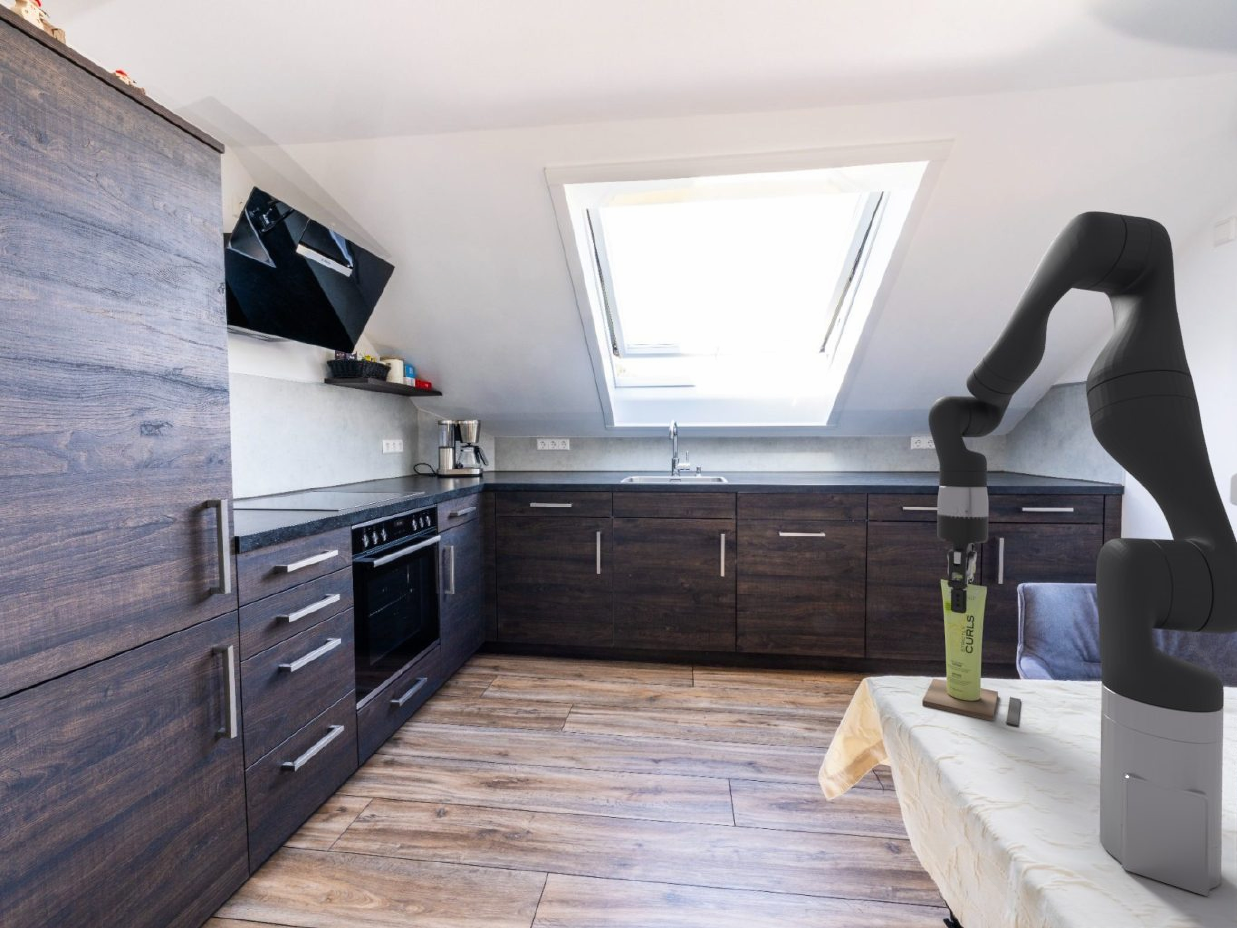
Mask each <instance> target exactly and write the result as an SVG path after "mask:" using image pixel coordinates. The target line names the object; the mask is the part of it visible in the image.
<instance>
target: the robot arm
mask: <svg viewBox="0 0 1237 928" xmlns="http://www.w3.org/2000/svg"><path fill="white" fill-rule="evenodd" d="M1049 244H1050V245H1049V246H1048V247H1047V249H1046V251H1045V253H1044V254H1043V256H1042V257H1041V260H1040V261H1039V263H1038V265H1037V266H1036V268H1035V270H1034V271H1033V272H1034V273H1033V274H1032V276H1031V277H1030V279H1029V281H1028V283H1027V285H1026V286H1025V289H1024V290H1023V292H1022V294H1021V296H1020V298H1019V299H1018V302H1017V303H1016V305H1015V307H1014V309H1013V311H1012V312H1011V313H1010V316H1009V318H1008V320H1007V322H1006V323H1005V325H1004V327H1003V329H1002V330H1001V331H1000V333H999V335H998V336H997V338H995V340H994V342H993V343H992V344H991V346H990V347H989V348H988V350H987V351H986V352H985V353H984V354H983V356H982V357H981V358H980V360H979V361H978V362H977V364H976V365H975V366H974V368H973V369H972V370H971V371H970V373H969V374H968V376H967V378H966V388H967V390H968V391H969V393H970V394H971V395H972V396H971V395H970V396H969V395H968V396H963V395H962V396H961V395H960V396H959V395H949V396H948V395H947V396H942V397H939V398H938V399H936V401H935V402H934V403H933V404H932V405H931V408H930V409H929V413H928V427H929V432H930V435H931V438H932V441H933V445H934V449H935V452H936V456H937V459H938V463H939V475H938V477H939V481H938V482H939V483H938V484H939V487H938V488H939V489H938V494H937V507H936V508H937V510H936V511H937V512H936V513H937V519H936V521H937V522H936V523H937V524H936V525H937V526H936V527H937V528H936V529H937V530H936V531H937V533H936V536H937V538H938V539H939V540H941V541H945V542H951V543H952V549H949V550H948V551H947V557H946V558H947V561H948V563H947V564H948V565H947V574H948V576H947V577H948V579H947V581H948V587H950V589H951V611H952V612H956V613H966V611H967V589H968V584H971V585H973V581H974V579H975V574H976V567H977V564H976V562H977V558H978V557H977V556H978V555H977V551H975V548H976V545H975V544H982V543H983V544H984V543H986V542H988V540H989V503H990V502H989V494H988V488H987V486H988V461H987V457H986V455H985V454H983V453H981V452H978V451H974V450H970V449H968V447H967V446H966V443H965V442H964V438H982V437H985V436H987V435H990V434H991V433H993V432H994V431H996V429H997V428H998V427H999V426H1000V424H1001V422H1002V420H1003V419H1004V416H1005V414H1006V411H1007V410H1008V407H1009V405H1010V403H1011V401H1012V398H1013V395H1014V394H1015V393H1017V392H1018V391H1019V389H1020V388H1021V387H1022V386H1023V385H1024V383H1025V382H1027V381H1028V380H1029V378H1030V377H1031V376H1032V375H1033V374H1034V372H1035V371H1036V370H1037V369H1038V367H1039V366H1040V364H1041V362H1042V360H1043V357H1044V354H1045V352H1046V351H1045V350H1046V345H1047V330H1048V329H1047V327H1048V322H1049V318H1050V314H1051V312H1052V311H1053V309H1054V307H1055V306H1056V305H1057V304H1058V302H1059V301H1061V299H1062V298H1063V297H1064V296H1065V295H1066V294H1067V293H1069V291H1070V290H1072V289H1076V290H1081V291H1082V290H1083V291H1088V292H1089V291H1090V292H1096V293H1103V294H1105V296H1106V297H1107V298H1108V299H1109V302H1110V304H1111V305H1110V306H1111V310H1112V315H1113V331H1112V334H1111V336H1110V337H1109V339H1108V342H1107V343H1106V344H1105V346H1104V347H1103V349H1102V350H1101V351H1100V353H1099V355H1098V356H1097V358H1096V359H1095V361H1094V363H1093V364H1092V366H1091V368H1090V369H1089V372H1088V374H1087V377H1086V382H1085V383H1086V384H1085V392H1086V393H1085V394H1086V401H1087V406H1088V411H1089V412H1088V413H1089V414H1088V415H1089V420H1090V424H1091V430H1092V433H1093V435H1094V437H1095V438H1096V440H1097V442H1098V443H1099V445H1101V447H1102V448H1103V449H1104V451H1105V452H1106V453H1107V454H1108V455H1109V456H1110V457H1111V458H1112V459H1113V460H1114V461H1115V462H1116V463H1117V464H1119V465H1120V466H1121V468H1123V469H1124V470H1125V471H1126V472H1127V473H1128V474H1130V475H1131V476H1132V478H1134V479H1135V480H1136V481H1137V482H1138V483H1139V484H1140V485H1141V486H1142V487H1143V488H1144V489H1145V490H1146V491H1147V493H1149V495H1150V496H1151V497H1152V498H1153V500H1154V501H1155V502H1156V504H1157V505H1158V507H1159V508H1160V509H1159V510H1160V511H1162V514H1163V516H1164V518H1165V520H1166V522H1167V525H1168V528H1169V530H1170V533H1171V537H1172V539H1165V538H1164V539H1163V538H1140V537H1139V538H1134V537H1118V538H1113V539H1110V540H1107V542H1104V544H1103V546H1102V547H1101V549H1100V551H1099V553H1098V555H1097V556H1098V557H1097V559H1096V560H1097V561H1096V568H1095V569H1096V572H1095V579H1096V580H1095V581H1096V583H1095V584H1096V585H1095V586H1096V601H1097V602H1096V603H1097V613H1098V614H1097V615H1098V618H1097V619H1098V647H1099V651H1098V652H1099V656H1100V666H1101V667H1100V668H1101V695H1100V697H1101V699H1100V700H1101V701H1100V703H1101V705H1100V706H1101V708H1100V709H1101V711H1100V768H1099V773H1100V775H1099V776H1100V778H1099V779H1100V781H1099V782H1100V783H1099V840H1100V843H1101V845H1102V846H1103V848H1104V849H1105V851H1107V853H1108V854H1110V855H1111V856H1112V857H1113V858H1115V860H1117V861H1118V862H1120V864H1121V868H1122V869H1123V870H1124V871H1127V872H1131V873H1133V874H1137V875H1140V876H1143V877H1146V878H1148V879H1153V880H1156V881H1158V882H1162V883H1165V884H1167V885H1171V886H1175V887H1177V888H1180V889H1183V890H1187V891H1190V892H1192V893H1197V894H1199V895H1202V896H1206V897H1208V896H1209V895H1210V890H1211V889H1215V888H1218V887H1219V885H1220V884H1221V882H1222V844H1223V843H1222V834H1223V833H1222V832H1223V831H1222V830H1223V829H1222V827H1223V823H1222V821H1223V760H1224V759H1223V755H1224V754H1223V752H1224V751H1223V749H1224V704H1225V703H1224V701H1225V696H1224V694H1225V693H1224V692H1225V691H1224V684H1223V681H1222V680H1221V679H1220V678H1219V676H1217V674H1215V673H1213V672H1212V671H1210V670H1209V669H1207V668H1205V667H1202V666H1201V665H1198V664H1196V663H1192V662H1190V661H1188V660H1184V659H1182V658H1179V657H1176V656H1173V655H1171V654H1169V653H1166V652H1165V651H1163V650H1161V649H1159V648H1158V647H1157V646H1156V645H1155V641H1154V640H1155V639H1154V634H1153V629H1156V630H1165V631H1166V630H1168V631H1178V632H1180V631H1181V632H1192V633H1203V634H1216V635H1217V634H1218V635H1228V634H1230V635H1231V634H1234V633H1237V538H1236V536H1235V533H1234V532H1235V531H1233V527H1232V525H1231V522H1230V519H1229V516H1228V514H1227V510H1226V508H1225V505H1224V502H1223V500H1222V497H1221V494H1220V492H1219V489H1218V485H1217V482H1216V478H1215V476H1214V472H1213V468H1212V465H1211V461H1210V455H1209V453H1208V452H1209V451H1208V448H1207V447H1208V446H1207V442H1206V438H1205V435H1204V429H1203V423H1202V417H1201V411H1200V410H1201V409H1200V406H1199V401H1198V398H1197V392H1196V389H1195V385H1194V384H1195V383H1194V381H1193V379H1194V378H1193V376H1192V374H1191V370H1190V366H1189V364H1188V360H1187V355H1186V351H1185V346H1184V340H1183V334H1182V330H1181V329H1182V327H1181V325H1180V318H1179V313H1178V307H1177V298H1176V283H1175V267H1174V254H1173V247H1172V246H1173V245H1172V241H1171V236H1170V234H1169V232H1168V230H1167V228H1166V227H1165V226H1164V225H1163V224H1161V222H1159V221H1157V220H1155V219H1152V218H1148V217H1142V216H1134V215H1129V214H1128V215H1127V214H1121V213H1114V212H1107V211H1099V210H1098V211H1096V210H1095V211H1094V210H1093V211H1091V210H1090V211H1085V212H1081V213H1079V214H1078V215H1076V216H1074V217H1073V218H1072V219H1070V220H1069V221H1068V222H1067V223H1066V224H1065V225H1064V226H1062V229H1060V231H1059V232H1058V233H1057V235H1056V236H1055V237H1054V239H1052V241H1051V243H1049ZM955 579H956V580H955Z"/></svg>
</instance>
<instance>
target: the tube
mask: <svg viewBox="0 0 1237 928" xmlns="http://www.w3.org/2000/svg"><path fill="white" fill-rule="evenodd" d="M940 586H941V595H942V605H943V606H942V607H943V608H942V609H943V620H944V624H943V625H944V636H945V638H944V639H945V641H944V643H945V664H946V666H945V667H946V668H945V669H946V671H945V672H946V681H947V693H948V694H949V695H951V696H953V697H955V698H958V699H962V700H968V701H975V700H978V699H980V688H982V687H981V681H982V680H981V679H982V678H981V676H982V674H981V673H982V649H983V648H982V647H983V646H982V645H983V630H984V618H985V617H984V616H985V607H986V598H987V592H988V587H987V586H985V585H976V584H972V585H971V584H968V589H967V611H966V613H956V612H952V611H951V589H950V587H948V579H946V580H945V579H940Z"/></svg>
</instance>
